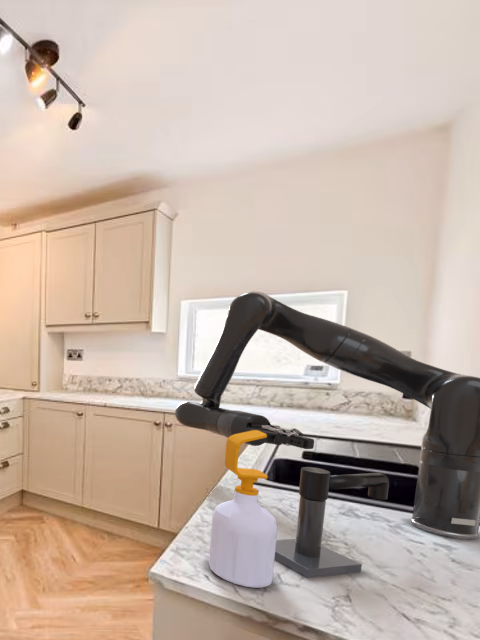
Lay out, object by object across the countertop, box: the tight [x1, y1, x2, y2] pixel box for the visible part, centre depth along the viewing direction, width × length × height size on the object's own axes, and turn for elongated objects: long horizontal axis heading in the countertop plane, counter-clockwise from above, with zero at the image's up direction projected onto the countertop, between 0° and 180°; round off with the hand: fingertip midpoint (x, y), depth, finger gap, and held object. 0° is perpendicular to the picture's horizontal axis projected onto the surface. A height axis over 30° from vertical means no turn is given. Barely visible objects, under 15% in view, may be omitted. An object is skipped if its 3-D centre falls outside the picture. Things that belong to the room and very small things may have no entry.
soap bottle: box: [208, 430, 279, 589], centre depth 70 cm, size 9×9×25 cm
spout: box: [298, 466, 390, 501], centre depth 76 cm, size 18×4×6 cm, turn 101°
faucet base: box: [274, 494, 362, 579], centre depth 76 cm, size 11×10×12 cm
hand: (311, 444), depth 88 cm, fingers closed
